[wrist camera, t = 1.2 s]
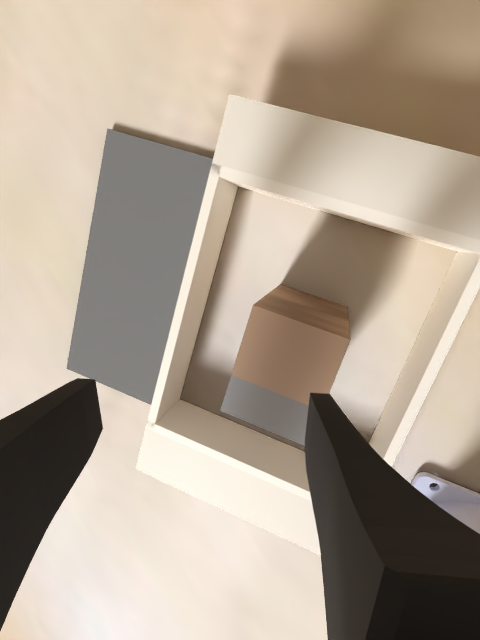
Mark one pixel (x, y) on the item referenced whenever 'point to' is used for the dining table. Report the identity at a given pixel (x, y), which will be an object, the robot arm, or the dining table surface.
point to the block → (286, 360)
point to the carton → (338, 199)
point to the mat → (135, 261)
